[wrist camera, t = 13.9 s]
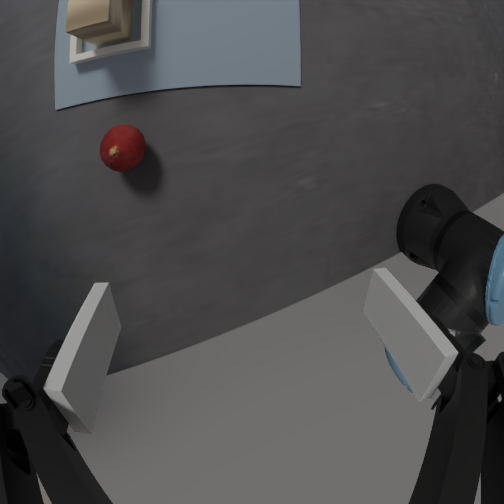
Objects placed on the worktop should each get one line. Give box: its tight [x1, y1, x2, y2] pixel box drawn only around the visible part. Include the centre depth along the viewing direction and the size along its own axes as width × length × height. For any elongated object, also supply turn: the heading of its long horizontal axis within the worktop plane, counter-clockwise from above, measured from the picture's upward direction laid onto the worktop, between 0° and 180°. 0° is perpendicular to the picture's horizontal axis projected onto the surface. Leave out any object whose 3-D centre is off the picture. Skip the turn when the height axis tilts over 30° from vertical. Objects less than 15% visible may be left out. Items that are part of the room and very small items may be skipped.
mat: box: [55, 0, 301, 110], centre depth 28 cm, size 34×22×1 cm, turn 90°
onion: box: [100, 125, 146, 171], centre depth 32 cm, size 6×6×8 cm
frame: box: [70, 0, 153, 65], centre depth 25 cm, size 11×16×2 cm
